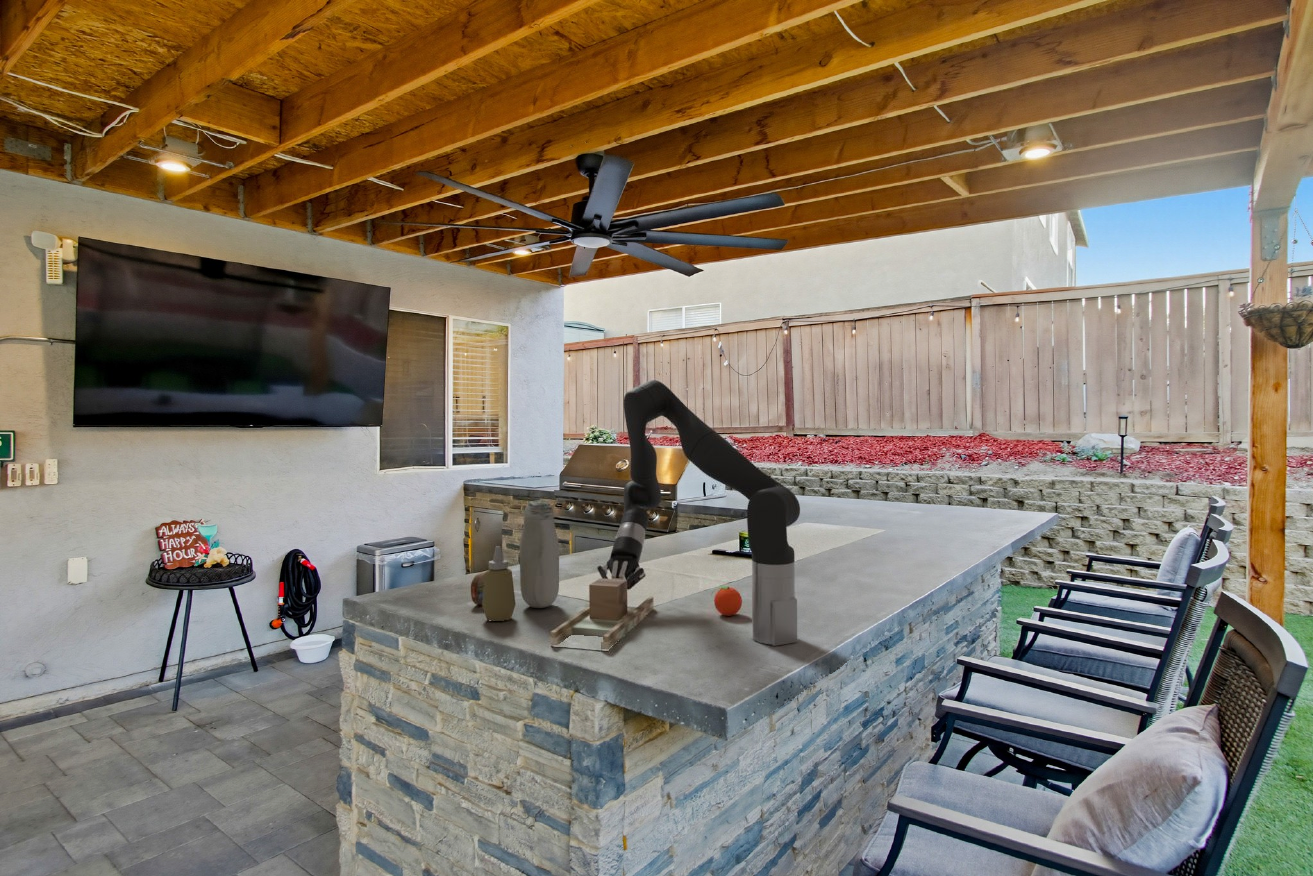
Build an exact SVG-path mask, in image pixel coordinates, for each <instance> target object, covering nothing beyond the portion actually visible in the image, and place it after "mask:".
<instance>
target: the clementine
mask: <svg viewBox="0 0 1313 876" xmlns="http://www.w3.org/2000/svg"><path fill="white" fill-rule="evenodd" d="M715 590H718V591H717V592H716V593H715V596H714V599H713V602H714V603H713V604H714V607H715V609H716V610H717V612H718V613H719V614H721V615H723V616H727V617H729V616H734V615H736V614H738V613H739V611H740V610H741V609H742V605H743V599H742V596H741V593H740V592H739V591H738V590H737V589H736V588H734V587H730V586H721V587H717V588H715V589H714V591H715ZM714 591H712V592H711V595H710V596H712V594H713V593H714Z"/></svg>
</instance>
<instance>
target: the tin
mask: <svg viewBox="0 0 1313 876" xmlns="http://www.w3.org/2000/svg"><path fill="white" fill-rule="evenodd" d="M486 571H487V570H486ZM486 571H483V572H480V573H479V574H476V575H475V576H474V577H473V578H472V580H471V582H470V595H471V600H472V603H473V604H475V605H477V606H482V602H483V590H484V578H485V572H486Z"/></svg>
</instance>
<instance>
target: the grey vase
mask: <svg viewBox="0 0 1313 876" xmlns="http://www.w3.org/2000/svg"><path fill="white" fill-rule="evenodd" d="M555 525H556V524H555V520H554V510H553V507H552V505H551V504H550V503H549V502H548V501H546V500H540V499H536V500H535V499H534V500H532V501H530V502H529V503H528V504H527V505H526V506H525V509H524V516H523V525H522V526H523V527H522V532H521V536H520V542H519V574H520V576H519V578H520V579H519V580H520V582H519V583H520V585H519V586H520V593H521V597H522V599H523V602H525V604H527V606H529V607H531V608H533V609H544V608H547V607H550V606H552V604H554V603H555V601H556V600H557V597H558V595H559V591H560V590H559V589H560V546H559V540H558V535H557V530H556V526H555Z"/></svg>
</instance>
